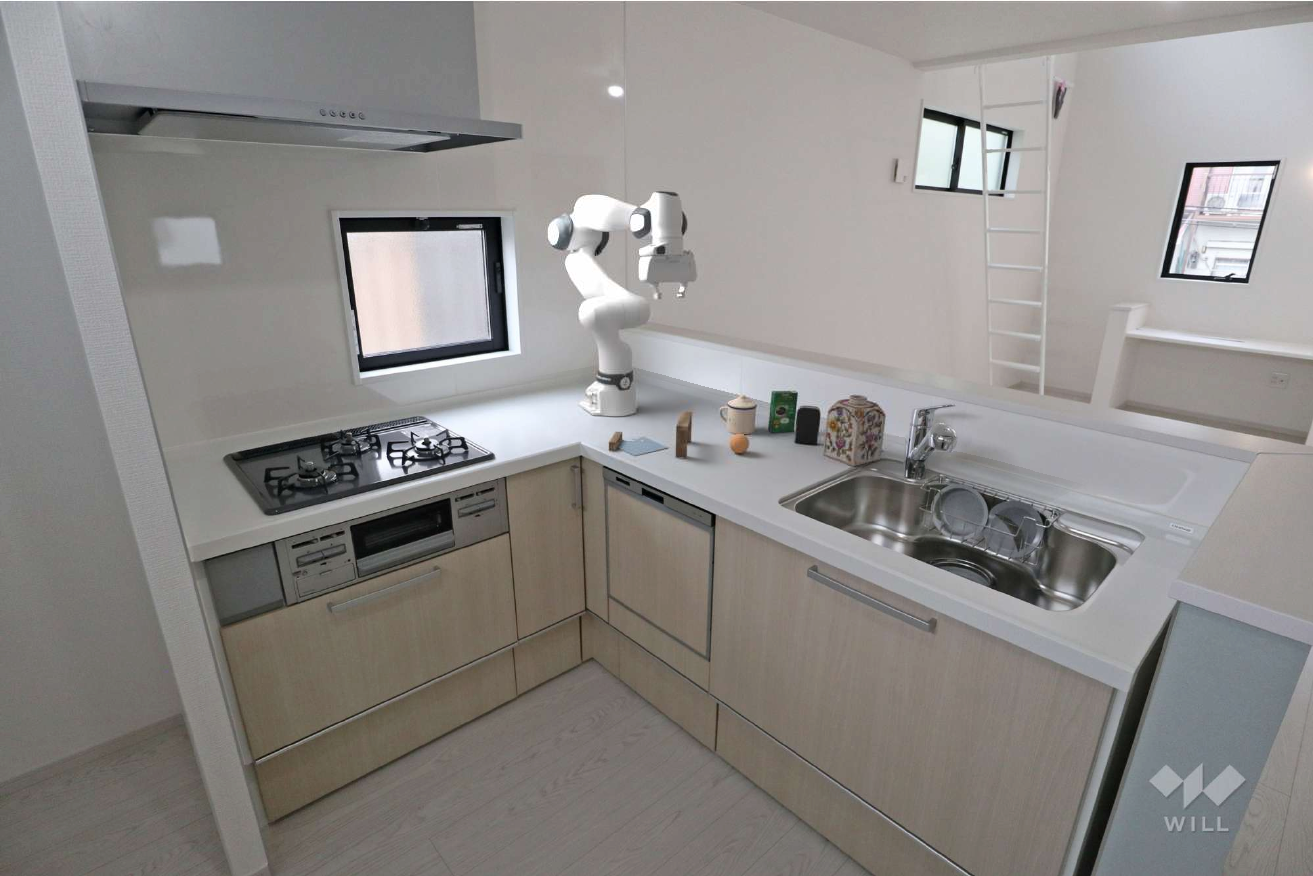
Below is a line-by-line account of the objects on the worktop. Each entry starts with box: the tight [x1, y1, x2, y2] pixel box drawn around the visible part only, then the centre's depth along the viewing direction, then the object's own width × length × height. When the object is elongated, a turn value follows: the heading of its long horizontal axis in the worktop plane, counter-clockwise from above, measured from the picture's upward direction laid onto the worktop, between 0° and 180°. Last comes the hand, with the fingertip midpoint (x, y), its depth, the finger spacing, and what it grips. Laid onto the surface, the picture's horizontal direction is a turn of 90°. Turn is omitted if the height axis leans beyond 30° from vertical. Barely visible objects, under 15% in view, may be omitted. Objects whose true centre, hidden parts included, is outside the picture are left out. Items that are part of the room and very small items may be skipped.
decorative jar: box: [823, 394, 887, 467], centre depth 189 cm, size 12×12×18 cm
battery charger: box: [794, 405, 821, 446], centre depth 202 cm, size 7×4×11 cm, turn 75°
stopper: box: [608, 431, 623, 452], centre depth 198 cm, size 2×10×2 cm, turn 172°
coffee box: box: [767, 390, 799, 434], centre depth 212 cm, size 8×3×13 cm, turn 102°
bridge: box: [675, 410, 693, 459], centre depth 195 cm, size 3×15×9 cm, turn 172°
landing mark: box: [617, 436, 669, 457], centre depth 198 cm, size 12×12×1 cm
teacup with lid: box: [718, 394, 758, 435], centre depth 212 cm, size 12×9×12 cm
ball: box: [729, 434, 750, 454], centre depth 193 cm, size 6×6×6 cm
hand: (669, 298), depth 198 cm, fingers open, 8 cm apart
